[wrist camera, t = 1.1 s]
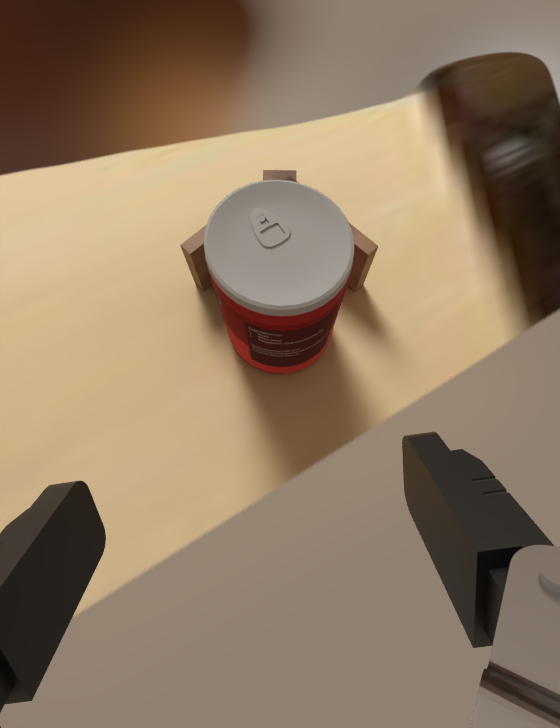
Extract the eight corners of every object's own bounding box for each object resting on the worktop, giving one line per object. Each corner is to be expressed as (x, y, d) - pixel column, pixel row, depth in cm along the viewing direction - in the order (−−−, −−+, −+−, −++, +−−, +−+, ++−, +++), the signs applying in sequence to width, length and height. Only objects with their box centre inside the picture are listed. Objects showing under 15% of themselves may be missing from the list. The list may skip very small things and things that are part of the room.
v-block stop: (194, 290, 31) (179, 254, 27) (200, 216, 34) (187, 170, 29) (363, 291, 31) (379, 255, 27) (358, 216, 34) (371, 170, 29)
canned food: (272, 265, 32) (269, 154, 22) (351, 324, 31) (388, 235, 20) (206, 331, 30) (168, 244, 20) (285, 398, 29) (289, 341, 18)
